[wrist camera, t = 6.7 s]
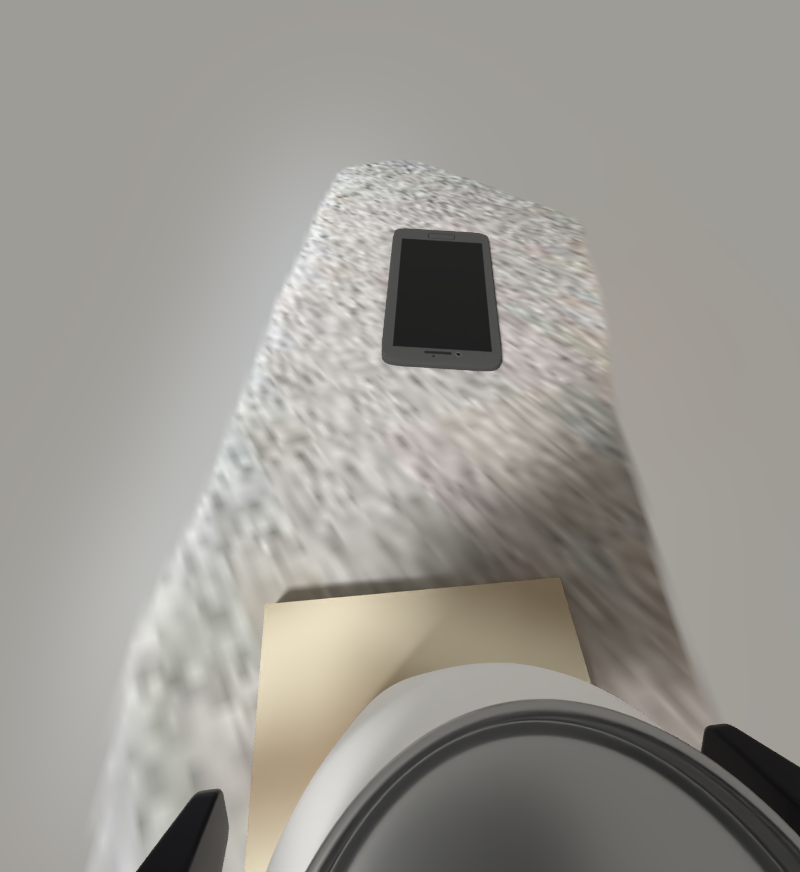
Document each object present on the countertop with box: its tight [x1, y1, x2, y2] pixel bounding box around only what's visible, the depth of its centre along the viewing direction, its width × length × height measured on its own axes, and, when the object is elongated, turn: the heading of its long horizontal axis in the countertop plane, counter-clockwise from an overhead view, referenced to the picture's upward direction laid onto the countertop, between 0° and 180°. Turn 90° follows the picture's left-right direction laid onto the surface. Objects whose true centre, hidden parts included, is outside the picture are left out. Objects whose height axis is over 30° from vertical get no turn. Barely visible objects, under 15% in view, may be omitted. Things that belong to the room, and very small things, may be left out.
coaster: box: [244, 577, 591, 872], centre depth 13 cm, size 12×12×1 cm
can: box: [266, 663, 800, 872], centre depth 8 cm, size 6×6×12 cm
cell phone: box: [382, 228, 501, 371], centre depth 27 cm, size 7×14×1 cm, turn 177°
